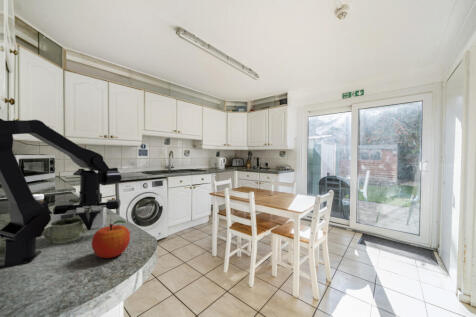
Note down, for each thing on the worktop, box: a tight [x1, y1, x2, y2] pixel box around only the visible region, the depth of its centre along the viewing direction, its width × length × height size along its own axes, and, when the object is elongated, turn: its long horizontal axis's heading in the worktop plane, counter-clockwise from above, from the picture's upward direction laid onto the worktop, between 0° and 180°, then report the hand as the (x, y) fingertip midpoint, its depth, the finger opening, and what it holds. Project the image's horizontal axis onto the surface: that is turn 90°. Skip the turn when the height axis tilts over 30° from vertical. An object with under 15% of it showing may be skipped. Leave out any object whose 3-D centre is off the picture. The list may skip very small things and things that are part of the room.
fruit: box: [91, 219, 131, 259], centre depth 56 cm, size 10×10×10 cm
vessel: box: [42, 218, 88, 244], centre depth 66 cm, size 12×9×6 cm
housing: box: [50, 201, 107, 231], centre depth 78 cm, size 8×16×9 cm, turn 117°
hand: (89, 229), depth 69 cm, fingers closed
